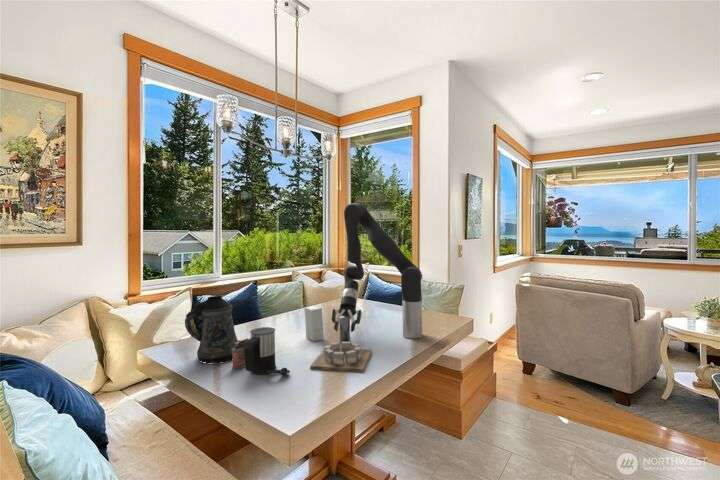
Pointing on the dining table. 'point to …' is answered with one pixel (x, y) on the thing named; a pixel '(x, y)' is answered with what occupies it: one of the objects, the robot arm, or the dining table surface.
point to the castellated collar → (342, 358)
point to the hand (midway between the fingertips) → (344, 330)
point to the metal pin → (344, 328)
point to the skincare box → (314, 323)
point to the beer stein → (213, 330)
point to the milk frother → (262, 352)
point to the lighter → (239, 354)
